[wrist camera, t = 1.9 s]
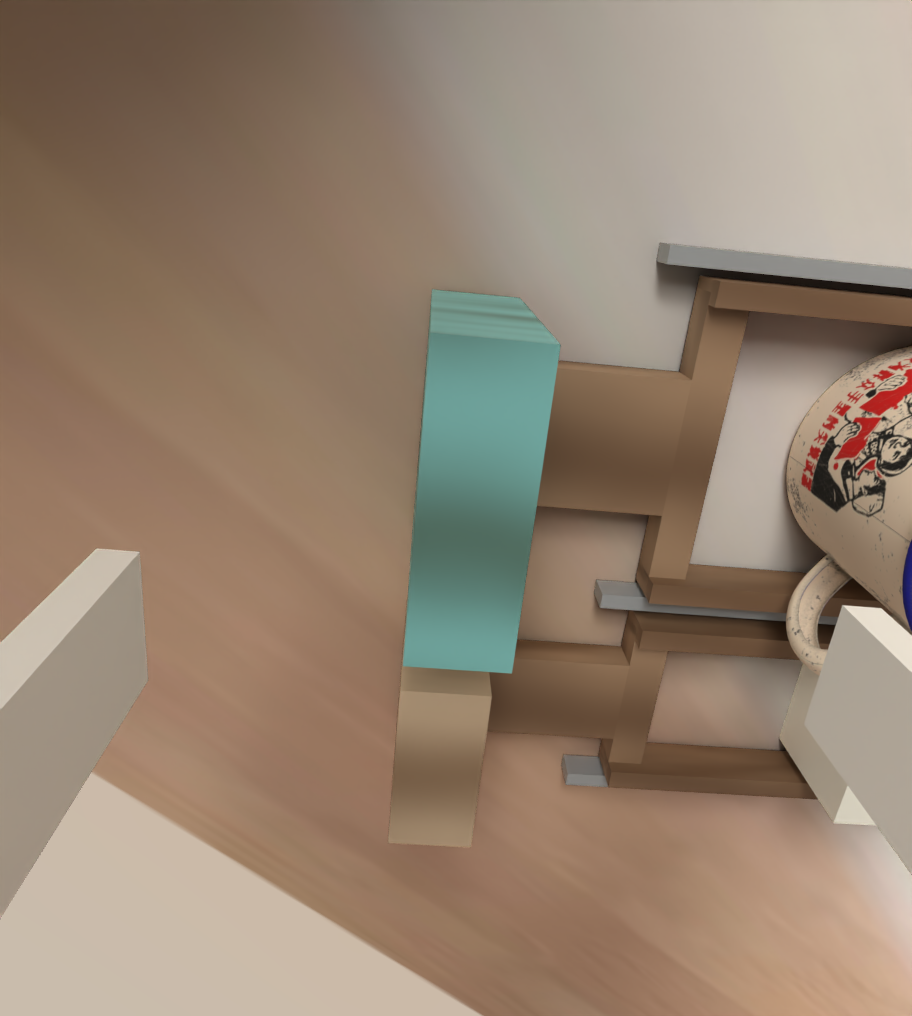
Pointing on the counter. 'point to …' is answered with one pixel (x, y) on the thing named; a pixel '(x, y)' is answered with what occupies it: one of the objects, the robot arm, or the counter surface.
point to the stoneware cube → (818, 758)
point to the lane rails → (630, 593)
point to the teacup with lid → (855, 495)
